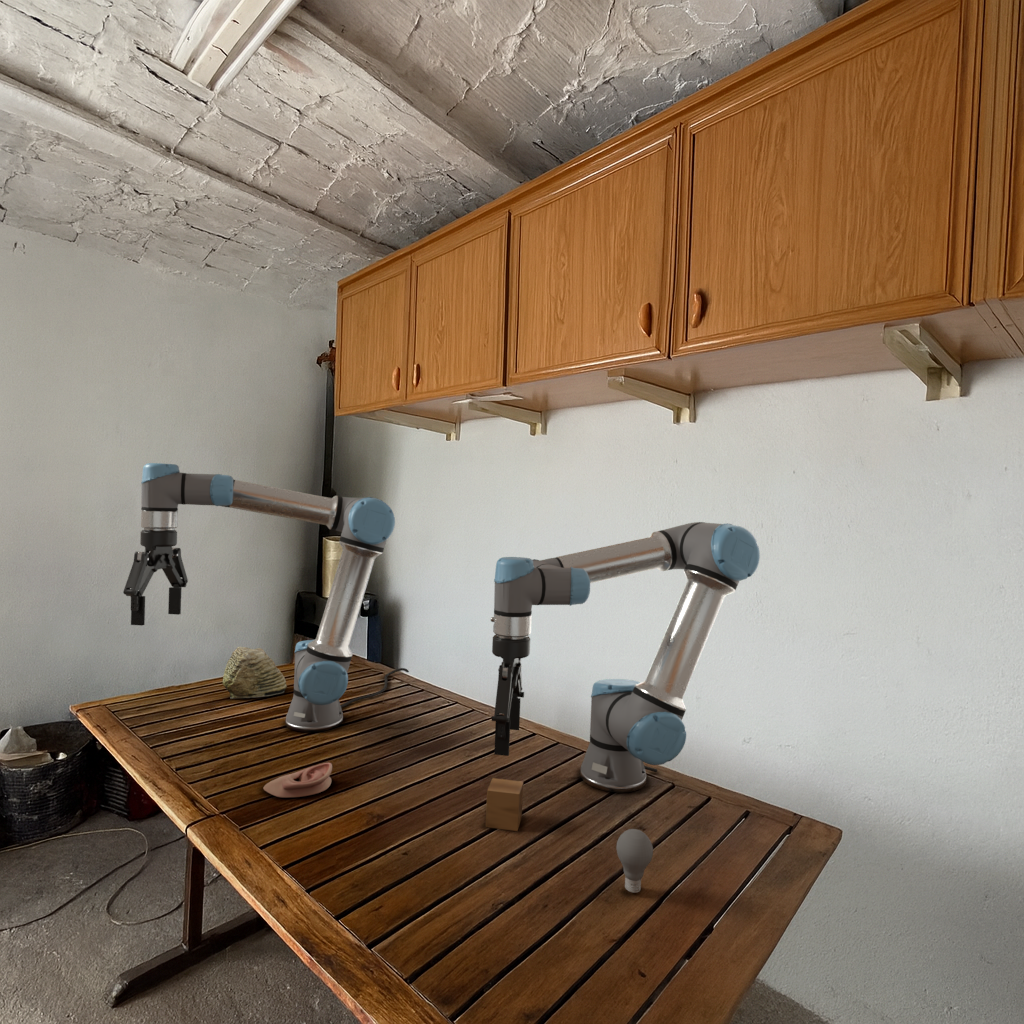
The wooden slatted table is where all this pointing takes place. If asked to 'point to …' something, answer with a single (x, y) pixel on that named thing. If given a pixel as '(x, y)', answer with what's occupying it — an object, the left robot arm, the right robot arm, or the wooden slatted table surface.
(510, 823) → the block
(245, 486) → the left robot arm
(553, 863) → the wooden slatted table surface
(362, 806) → the wooden slatted table surface
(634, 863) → the light bulb
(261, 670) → the fossil
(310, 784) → the anatomical model
